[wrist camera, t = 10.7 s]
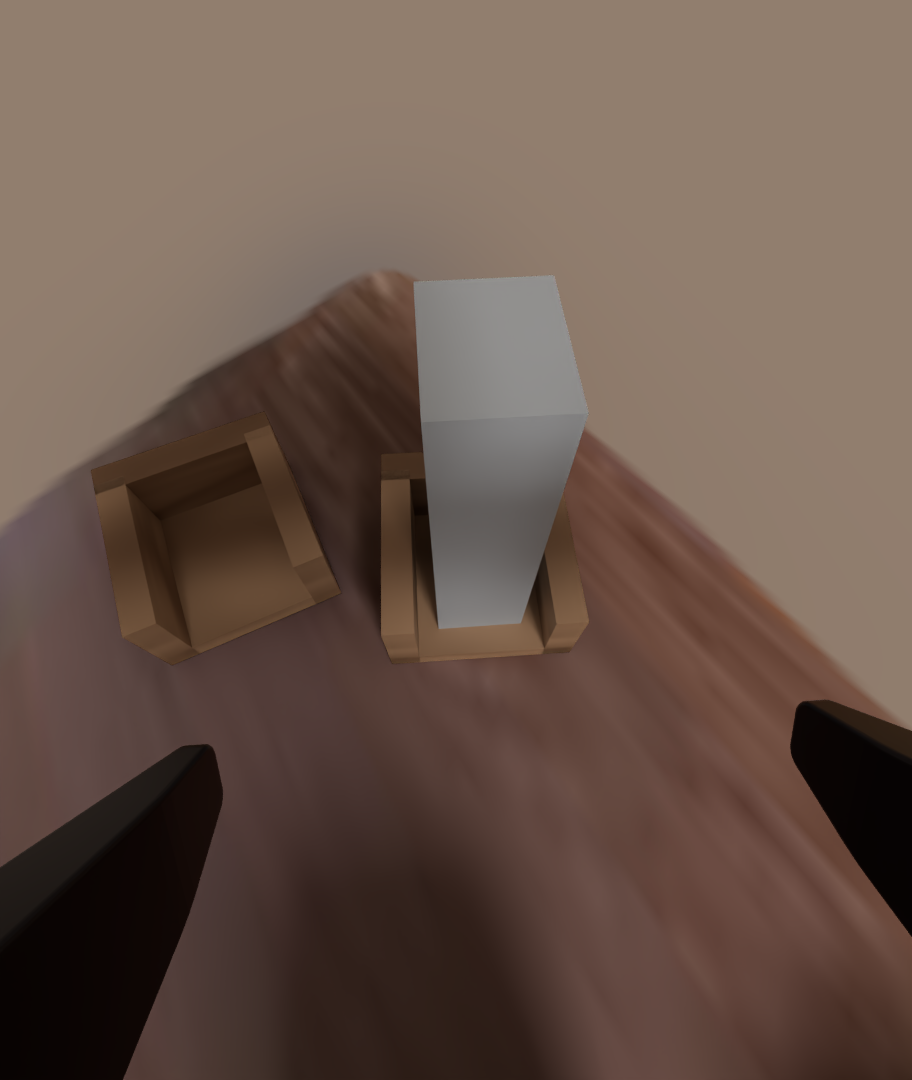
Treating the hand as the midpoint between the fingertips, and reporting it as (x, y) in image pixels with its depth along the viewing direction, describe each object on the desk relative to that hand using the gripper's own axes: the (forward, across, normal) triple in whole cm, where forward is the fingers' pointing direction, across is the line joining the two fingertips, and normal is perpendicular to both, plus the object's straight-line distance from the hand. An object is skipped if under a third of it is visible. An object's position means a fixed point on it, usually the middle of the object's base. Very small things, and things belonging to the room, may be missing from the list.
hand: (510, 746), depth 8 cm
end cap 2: (+16, -1, +4) cm, 16 cm away
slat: (+15, -1, +3) cm, 15 cm away
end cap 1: (+17, +10, +2) cm, 20 cm away
